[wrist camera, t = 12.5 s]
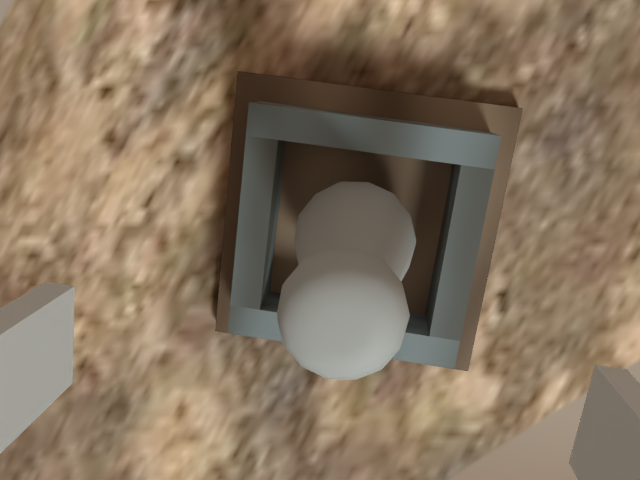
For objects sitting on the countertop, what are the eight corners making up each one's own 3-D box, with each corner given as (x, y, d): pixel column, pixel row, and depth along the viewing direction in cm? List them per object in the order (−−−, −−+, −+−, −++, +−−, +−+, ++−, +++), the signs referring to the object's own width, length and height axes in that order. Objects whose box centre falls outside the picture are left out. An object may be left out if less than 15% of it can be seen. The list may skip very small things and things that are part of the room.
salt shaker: (314, 161, 30) (267, 215, 18) (424, 187, 30) (457, 260, 17) (291, 269, 32) (233, 388, 19) (396, 293, 31) (407, 431, 19)
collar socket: (218, 325, 34) (200, 352, 30) (241, 71, 30) (223, 69, 27) (465, 364, 33) (476, 396, 29) (518, 107, 29) (537, 110, 26)
